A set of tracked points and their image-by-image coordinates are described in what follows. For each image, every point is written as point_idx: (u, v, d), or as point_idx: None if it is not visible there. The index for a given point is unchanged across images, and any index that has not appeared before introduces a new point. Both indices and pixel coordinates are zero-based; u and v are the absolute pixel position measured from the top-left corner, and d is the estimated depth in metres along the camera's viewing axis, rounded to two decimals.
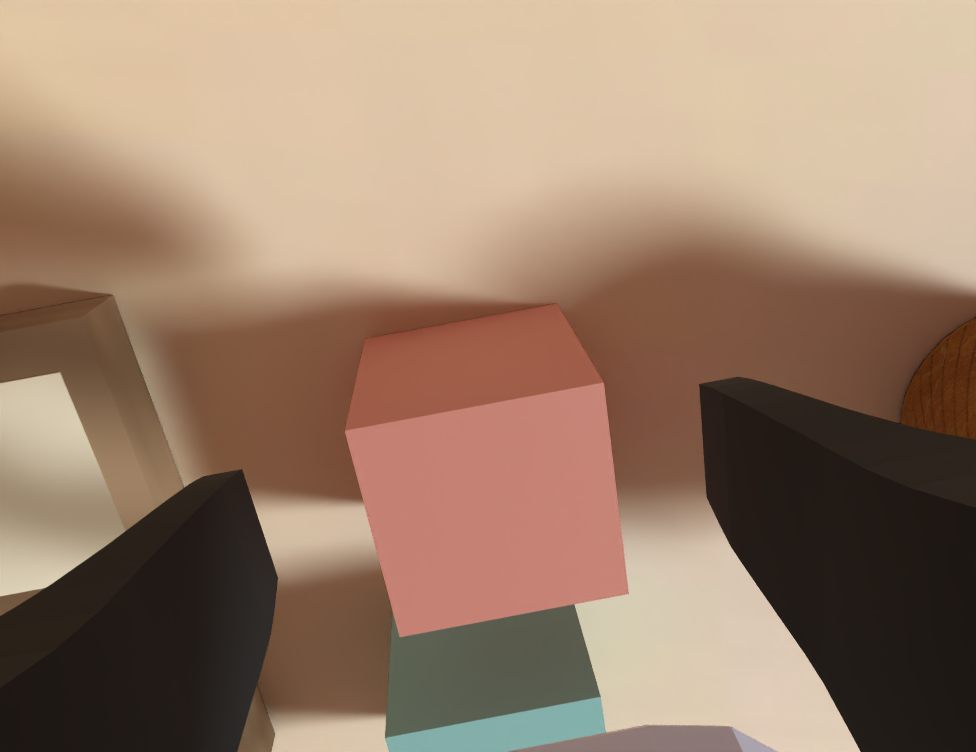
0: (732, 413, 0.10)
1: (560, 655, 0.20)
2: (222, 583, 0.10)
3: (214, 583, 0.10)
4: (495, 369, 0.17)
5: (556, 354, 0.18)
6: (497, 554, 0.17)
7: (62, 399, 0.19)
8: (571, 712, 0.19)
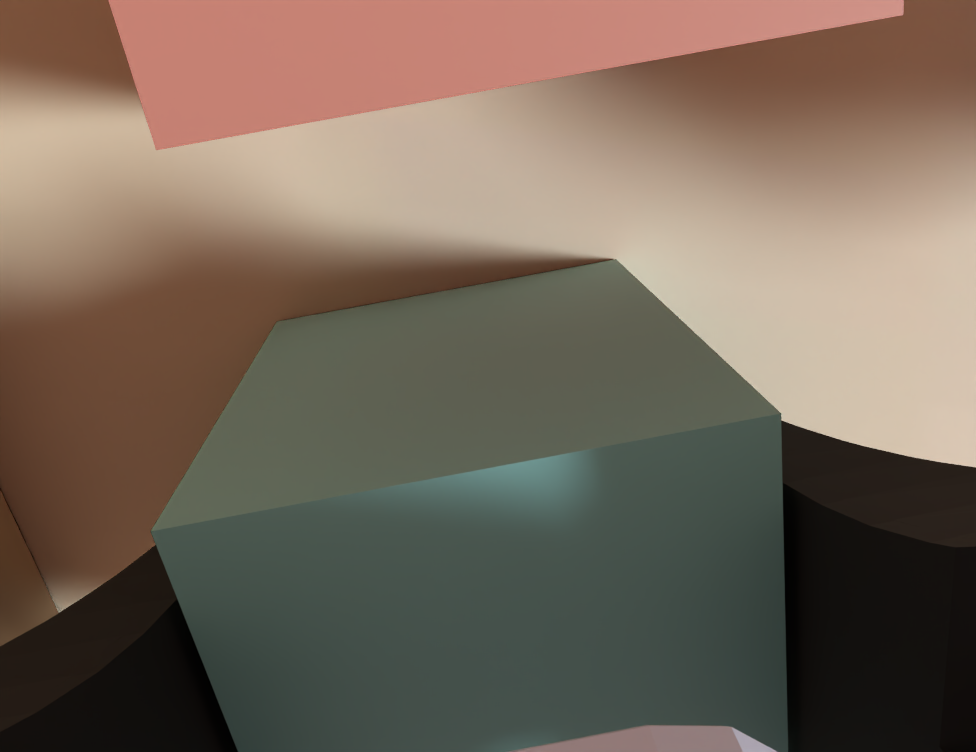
0: None
1: (643, 362, 0.08)
2: None
3: None
4: None
5: None
6: None
7: None
8: (694, 463, 0.07)
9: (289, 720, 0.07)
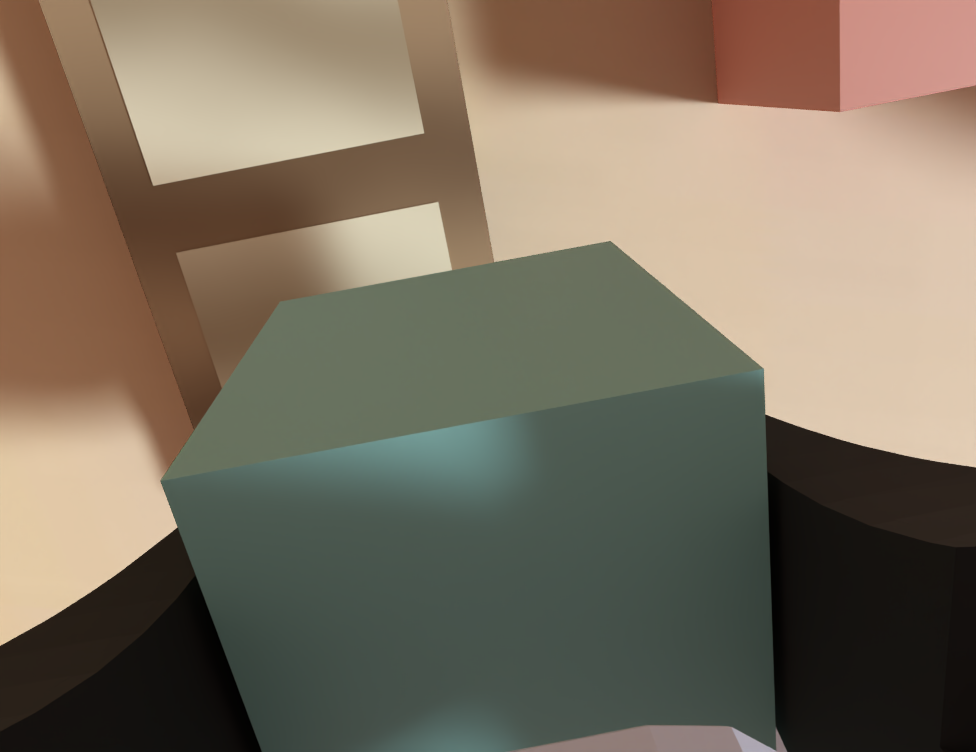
0: None
1: (635, 328, 0.08)
2: None
3: None
4: None
5: None
6: None
7: None
8: (681, 417, 0.07)
9: (292, 670, 0.08)
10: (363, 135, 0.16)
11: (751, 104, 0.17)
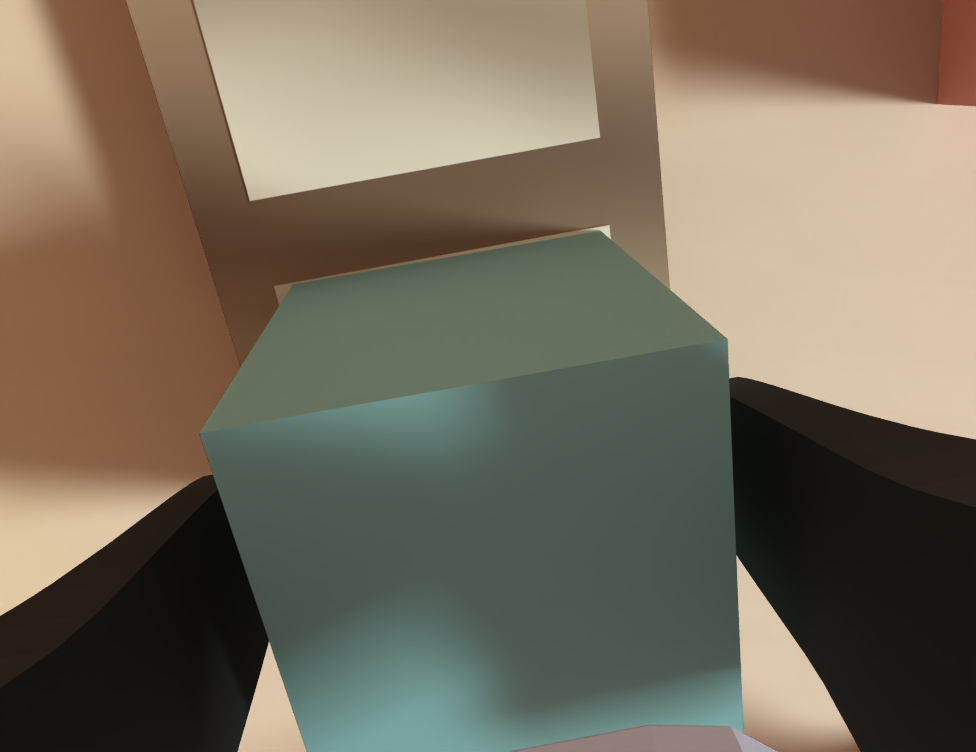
0: (732, 413, 0.10)
1: (617, 307, 0.09)
2: (222, 583, 0.10)
3: (215, 583, 0.10)
4: None
5: None
6: None
7: None
8: (655, 381, 0.08)
9: (310, 605, 0.09)
10: (522, 139, 0.13)
11: None
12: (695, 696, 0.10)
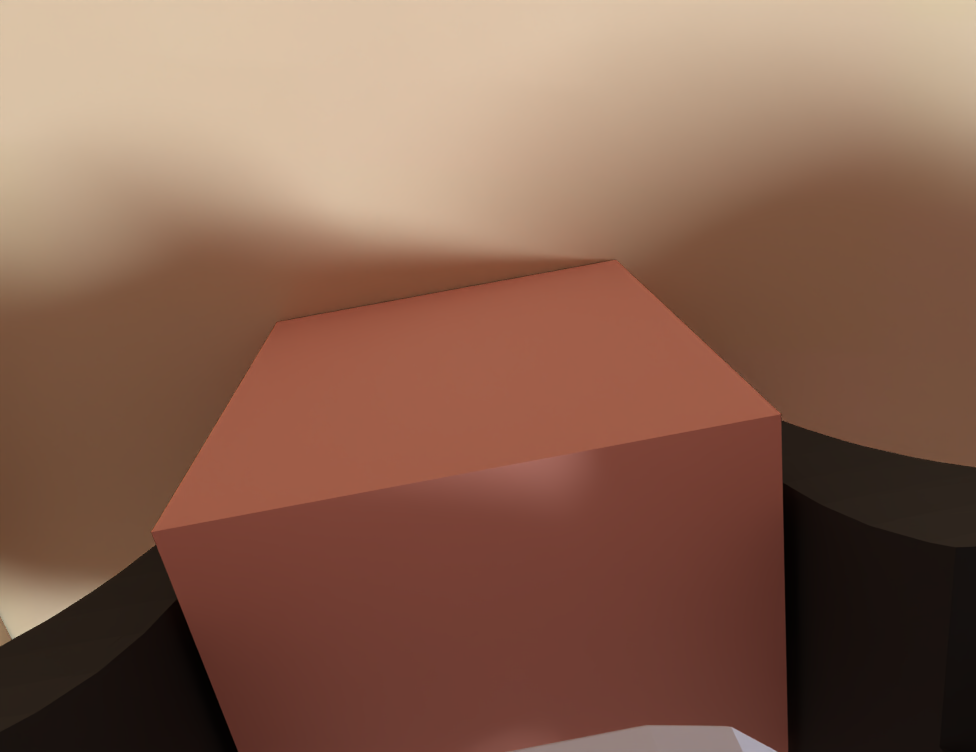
0: None
1: None
2: None
3: None
4: (514, 379, 0.08)
5: (641, 349, 0.08)
6: None
7: None
8: None
9: None
10: None
11: None
12: None
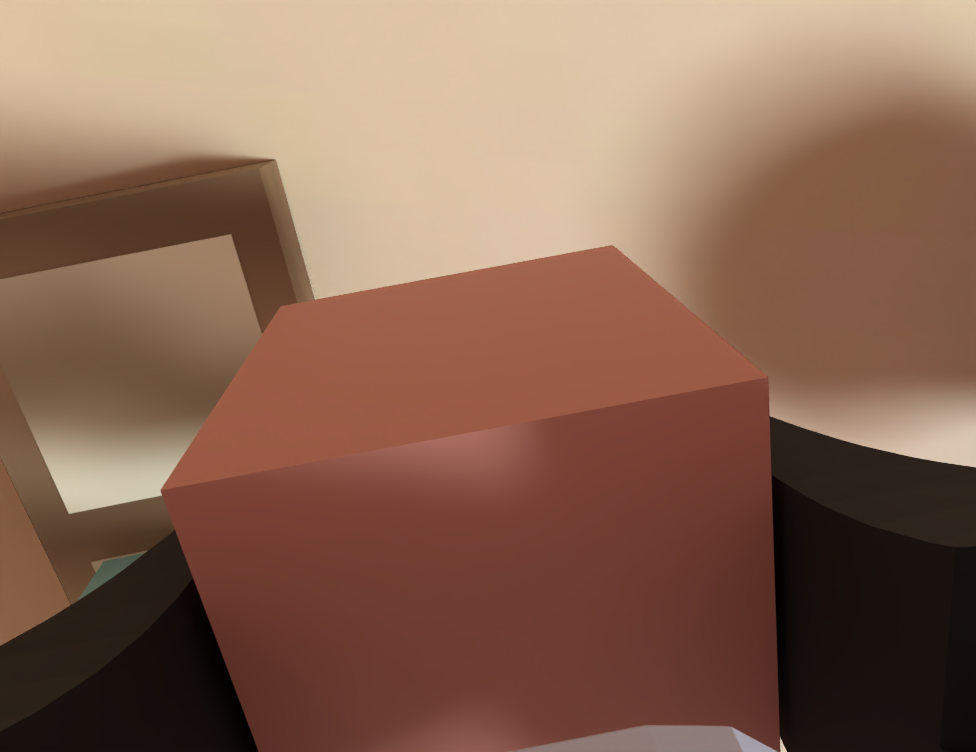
0: None
1: None
2: None
3: None
4: (512, 351, 0.08)
5: (635, 322, 0.09)
6: (515, 744, 0.08)
7: (231, 266, 0.17)
8: None
9: None
10: None
11: None
12: None
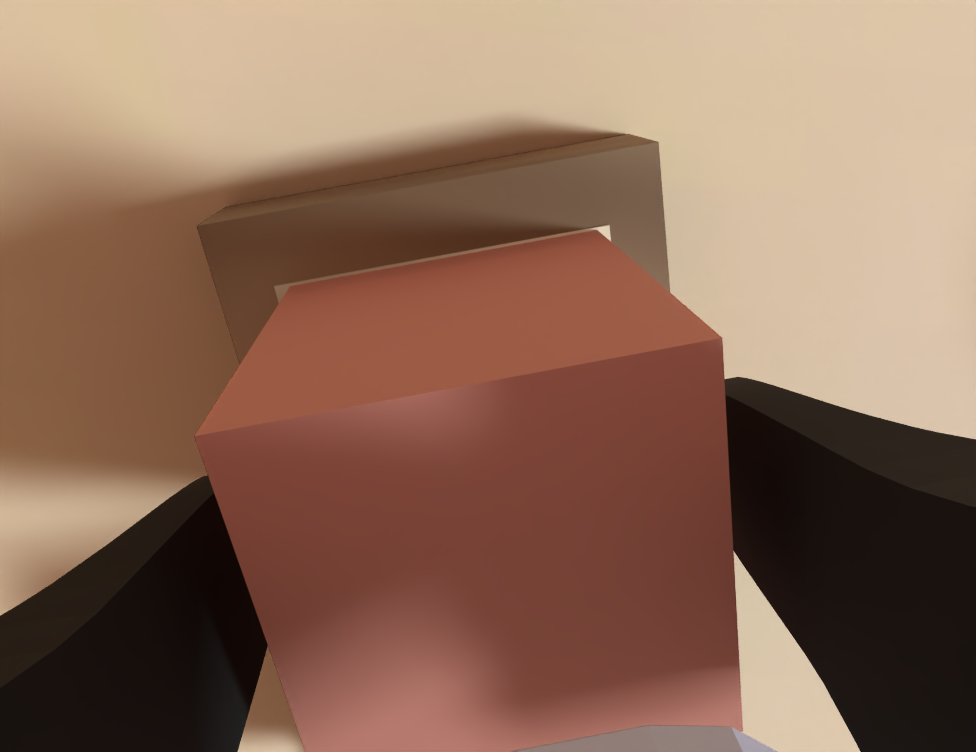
0: (732, 413, 0.10)
1: None
2: (222, 583, 0.10)
3: (214, 584, 0.10)
4: (501, 321, 0.09)
5: (612, 296, 0.10)
6: (503, 667, 0.09)
7: None
8: None
9: None
10: None
11: None
12: None
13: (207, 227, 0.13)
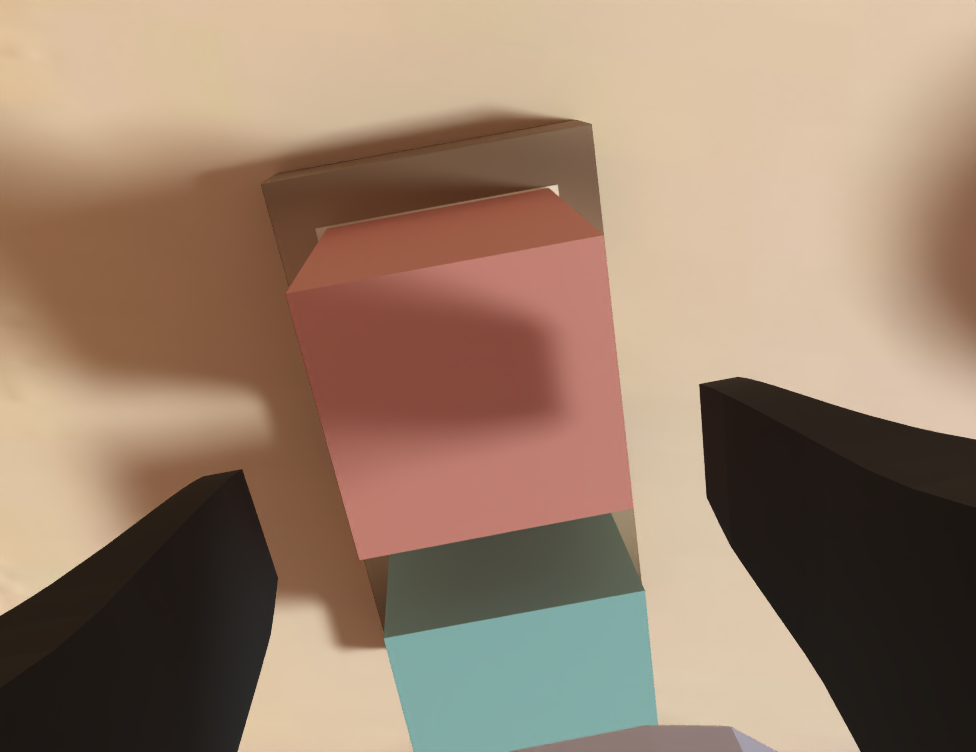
0: (732, 413, 0.10)
1: (592, 551, 0.17)
2: (222, 583, 0.10)
3: (214, 583, 0.10)
4: (473, 236, 0.15)
5: (546, 221, 0.15)
6: (474, 456, 0.14)
7: None
8: (609, 610, 0.16)
9: (432, 717, 0.16)
10: None
11: None
12: None
13: (268, 185, 0.18)
